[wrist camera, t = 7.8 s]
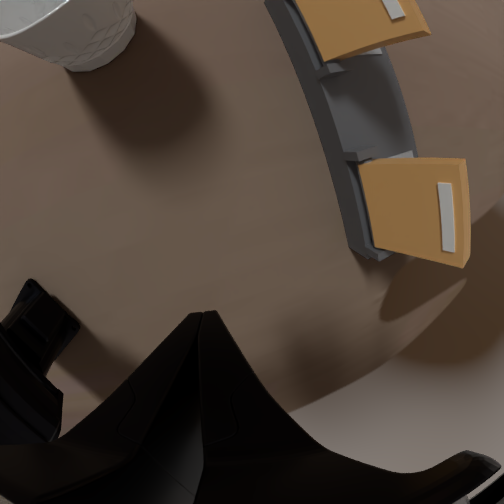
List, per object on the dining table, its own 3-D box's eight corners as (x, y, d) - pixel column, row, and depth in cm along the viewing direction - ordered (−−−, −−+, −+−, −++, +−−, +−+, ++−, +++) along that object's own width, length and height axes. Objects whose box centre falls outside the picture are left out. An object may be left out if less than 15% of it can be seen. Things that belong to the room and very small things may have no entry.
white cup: (86, -6, 11) (45, -67, 2) (163, 6, 13) (152, -75, 4) (37, 71, 13) (-37, 40, 3) (111, 89, 15) (48, 42, 6)
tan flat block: (317, 67, 14) (423, 33, 8) (280, -9, 12) (368, -59, 5) (332, 66, 15) (433, 38, 8) (298, -6, 12) (382, -50, 6)
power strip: (347, 247, 23) (379, 268, 18) (227, -59, 11) (235, -89, 7) (406, 219, 23) (441, 233, 19) (297, -61, 12) (315, -86, 7)
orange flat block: (367, 248, 19) (462, 272, 12) (348, 162, 16) (457, 162, 10) (379, 238, 19) (469, 258, 13) (362, 156, 17) (464, 155, 11)
